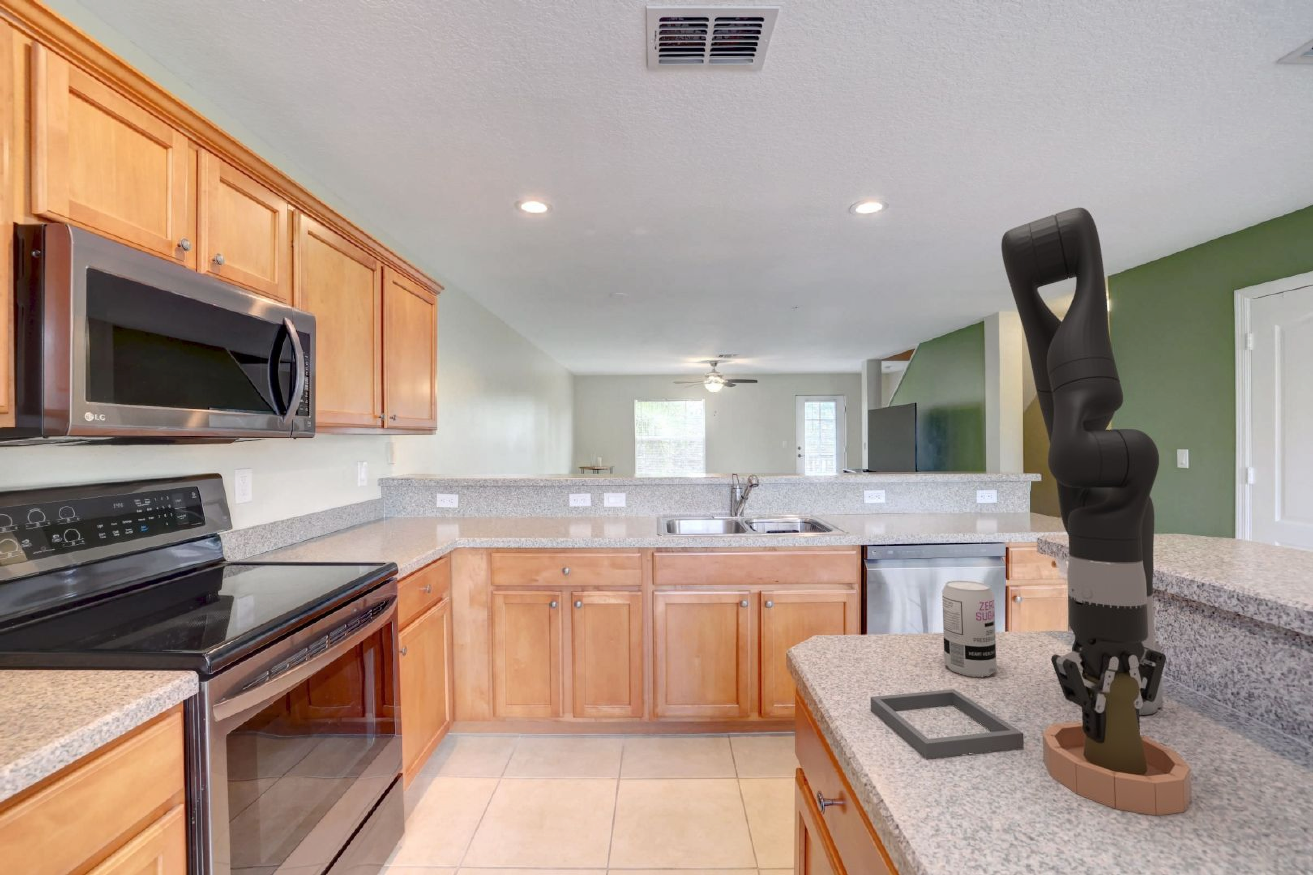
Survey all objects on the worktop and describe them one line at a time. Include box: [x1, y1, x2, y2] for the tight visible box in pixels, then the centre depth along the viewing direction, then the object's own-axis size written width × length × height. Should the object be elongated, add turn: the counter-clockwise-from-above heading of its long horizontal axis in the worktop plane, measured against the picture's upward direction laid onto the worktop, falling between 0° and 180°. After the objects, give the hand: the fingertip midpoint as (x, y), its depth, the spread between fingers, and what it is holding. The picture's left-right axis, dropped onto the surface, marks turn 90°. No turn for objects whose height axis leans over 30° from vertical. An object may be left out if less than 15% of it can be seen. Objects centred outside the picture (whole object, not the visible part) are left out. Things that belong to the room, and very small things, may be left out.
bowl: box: [1042, 721, 1192, 817], centre depth 69 cm, size 13×13×4 cm
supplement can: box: [941, 580, 998, 678], centre depth 102 cm, size 8×8×15 cm
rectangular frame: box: [870, 688, 1025, 760], centre depth 82 cm, size 14×14×2 cm
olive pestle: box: [1083, 673, 1147, 775], centre depth 69 cm, size 6×6×11 cm
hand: (1111, 737), depth 69 cm, fingers open, 3 cm apart
